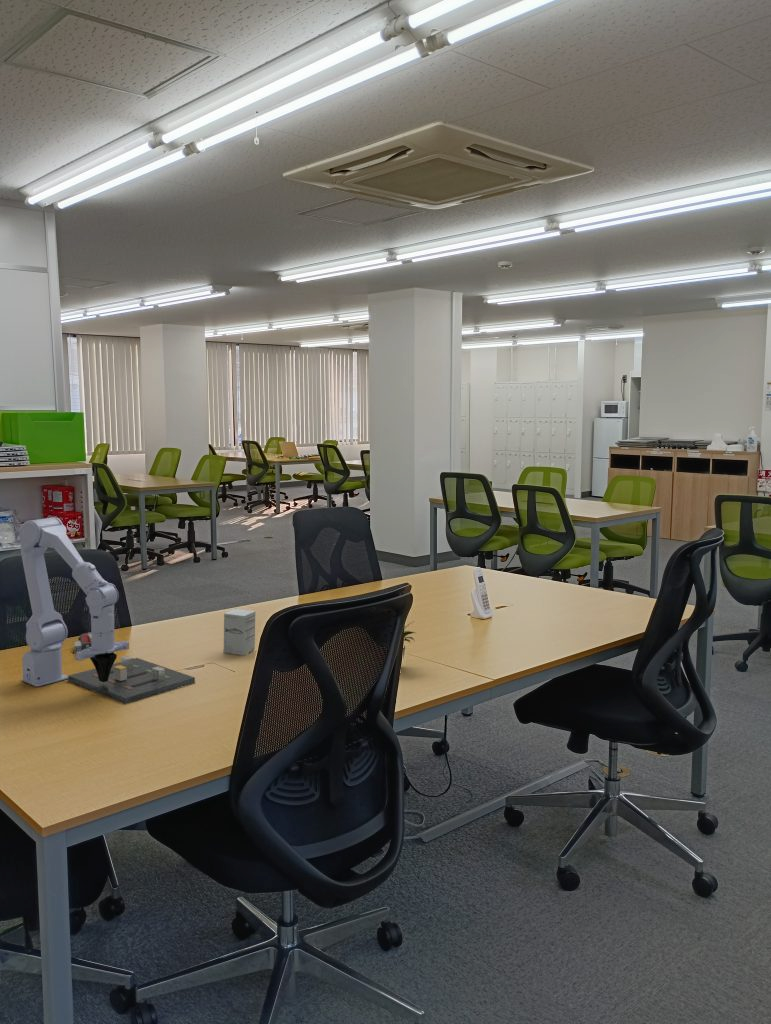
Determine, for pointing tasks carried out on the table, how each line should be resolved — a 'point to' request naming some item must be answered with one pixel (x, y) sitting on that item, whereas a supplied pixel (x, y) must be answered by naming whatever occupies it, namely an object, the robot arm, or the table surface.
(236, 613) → the supplement box
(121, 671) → the block
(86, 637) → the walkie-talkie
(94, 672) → the breaker board
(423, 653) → the table surface
